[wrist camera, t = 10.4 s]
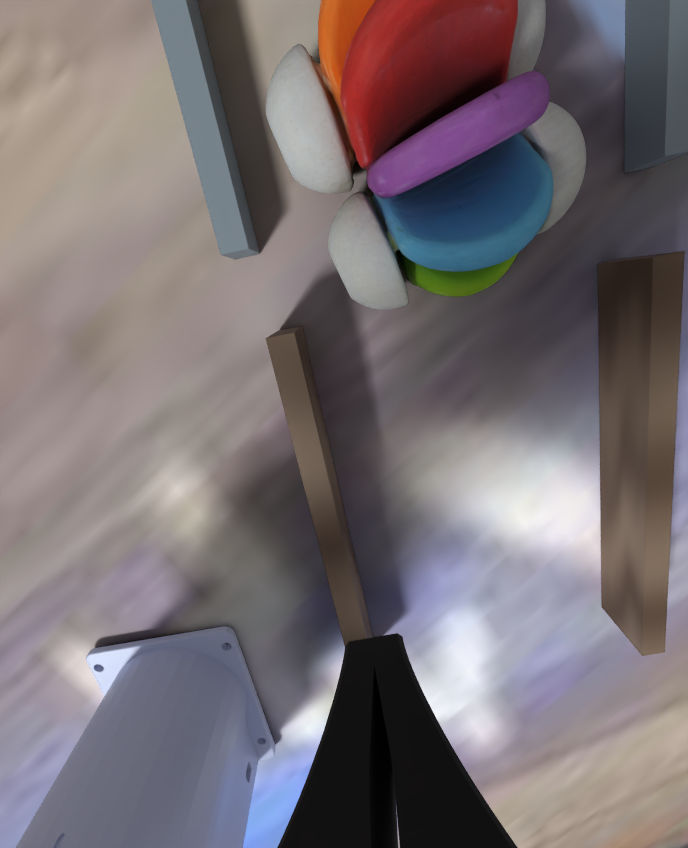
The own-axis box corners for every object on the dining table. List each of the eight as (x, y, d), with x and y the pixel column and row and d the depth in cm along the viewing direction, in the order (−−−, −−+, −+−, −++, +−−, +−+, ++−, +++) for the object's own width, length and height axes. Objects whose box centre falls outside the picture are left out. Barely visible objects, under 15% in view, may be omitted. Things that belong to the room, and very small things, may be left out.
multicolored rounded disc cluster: (475, -48, 13) (619, -410, 6) (562, 241, 16) (728, 204, 9) (251, 89, 14) (168, -98, 8) (367, 338, 17) (384, 369, 10)
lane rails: (621, 603, 21) (665, 652, 18) (356, 647, 22) (358, 699, 19) (623, 258, 16) (684, 251, 13) (278, 330, 17) (265, 338, 14)
